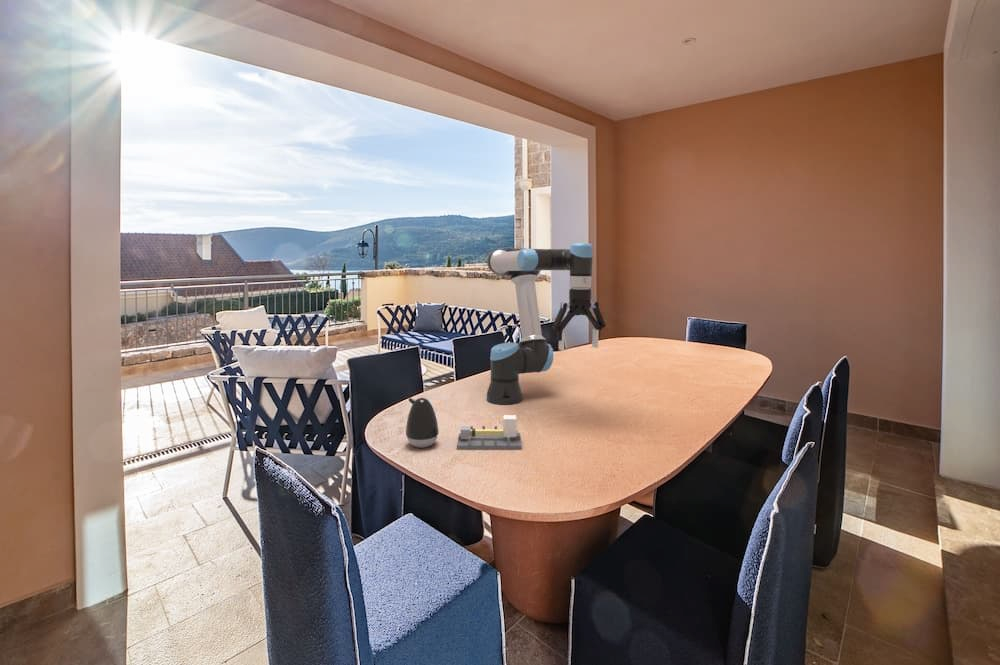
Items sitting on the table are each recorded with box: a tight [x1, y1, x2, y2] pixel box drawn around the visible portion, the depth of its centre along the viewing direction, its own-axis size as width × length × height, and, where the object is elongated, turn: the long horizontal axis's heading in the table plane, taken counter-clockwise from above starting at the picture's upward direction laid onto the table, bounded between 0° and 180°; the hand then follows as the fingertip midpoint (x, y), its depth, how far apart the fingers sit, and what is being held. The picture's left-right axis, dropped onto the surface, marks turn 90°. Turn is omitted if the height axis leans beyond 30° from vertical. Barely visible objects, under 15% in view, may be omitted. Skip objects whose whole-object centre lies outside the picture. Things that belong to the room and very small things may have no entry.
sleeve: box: [502, 414, 517, 437], centre depth 155 cm, size 4×4×6 cm
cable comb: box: [456, 425, 523, 450], centre depth 155 cm, size 20×11×5 cm, turn 90°
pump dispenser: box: [405, 397, 439, 449], centre depth 153 cm, size 10×10×15 cm
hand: (578, 348), depth 172 cm, fingers open, 13 cm apart
